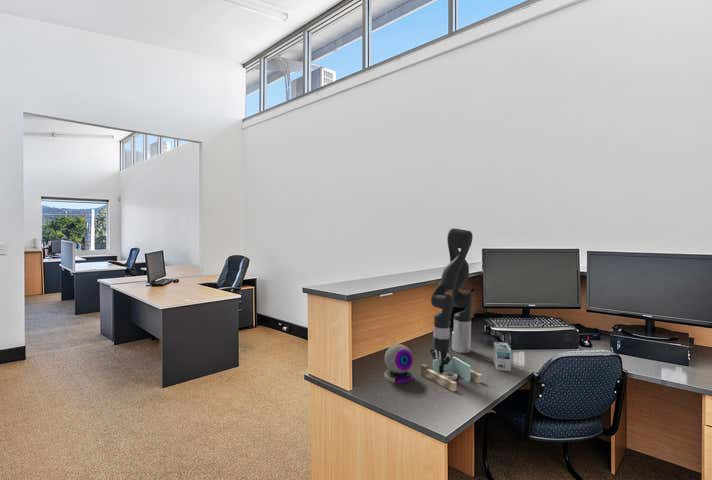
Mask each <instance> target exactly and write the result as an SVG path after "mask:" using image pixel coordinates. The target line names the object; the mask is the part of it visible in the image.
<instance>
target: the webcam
mask: <svg viewBox="0 0 712 480" xmlns="http://www.w3.org/2000/svg"><path fill="white" fill-rule="evenodd" d="M383 359H384V363H385V366H386V367H387V369H386V370H385V371H384V373H383V375H384V376H383V377H384V379H385V380H386V381H388V382H390V383H393V384H394V383H407V382H410V380H414V377H413V376H414V375H413V373H412V371H410V370H411V368H412V367H413V363H414V355H413V353H412V351H411V349H410V348H409V347H408V346H406V345H404V344H402V343H401V344H399V343H397V344H392V345H391V346H390V347H388V349H387V350H386V351H385V354H384V358H383Z"/></svg>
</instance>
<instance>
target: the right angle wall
mask: <svg viewBox="0 0 712 480" xmlns="http://www.w3.org/2000/svg"><path fill="white" fill-rule="evenodd" d="M439 361H440V360H439V359H435V360H434V359H433V360H432V370H433V371H435V372H437V373H439V374H441V375H443V376H445V377H447V378H449V379H451V380H453V381H456V380H457V379H458V376H459V377H461V378H462V379H464V380H465V381H467V382H471V379H470V377H471V370H472V365H469V364H468V363H466V362H465V361H462V360H461V359H459V358H458V357H456V356H452V359H451V361H450V362H449V363H448V364H447V365H444V371H443V372H442V373H440V372H439V367H440V365H439ZM442 362H443V361H442Z"/></svg>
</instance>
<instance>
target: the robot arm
mask: <svg viewBox="0 0 712 480" xmlns="http://www.w3.org/2000/svg"><path fill="white" fill-rule="evenodd" d="M446 241H447V248H448V253H449V263H448V264H447V265H446V266H445V268H444V269H443V271H442V275H441V277H440V278H441V279H440V281H439V283H438V285H437V286H436V288H435V290H434V291H433V293H432V295H431V298H430V300H431V301H430V303H431V305H432V306H433V307H434V308H437V309H441V310H442V311H441V312H438V313H435V314H434V316H433V317H434V319H433V334H432V335H433V336H432V345H433V348H431V349H429V352H430V354H431V356H432V358H433V360H435V359H439V360H440V361H439V365H440V367H439V372H440V373H442V372H443V371H444V365H447V364H448V363H449V362H450V361H451V359H452V357H453V356H452V355H450V353H449V347H450V344H451V350H453V351H454V352H456V353H459V354H467V353H470V352H471V340H472V338H471V337H472V336H471V335H472V308H473V307H472V306H473V293H472V292H471V291H469V290H460V288H461V287H462V286H463V285H464V284H465V283H466V281H468V279H469V277H470V267H469V263H468V262H467V261H468V260H467V259H466V258H467V255H468V253H469V250H470V248H471V246H472V242H473V232H472V231H471V230H467V229H466V230H465V229H461V228H451V229H449V231H448V233H447V240H446ZM459 249H460V250H459ZM448 291H451V294H447V292H448ZM453 308H463V309H464V310H462V311H459V312H456V313H453V331H452V332H451V330H450V325H451V324H450V323H451V322H450V321H451V320H450V318H451V316H452V312H453V310H454V309H453ZM450 337H451V339H450ZM450 340H451V342H450ZM442 361H443V362H442Z"/></svg>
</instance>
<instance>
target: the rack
mask: <svg viewBox="0 0 712 480" xmlns="http://www.w3.org/2000/svg"><path fill="white" fill-rule="evenodd" d="M420 376H423V377H424V378H427V379H429V380H431V381H432V382H434V383H436V384H438V385H440V386H442V387H444V388H446V389H447V390H450V391H451V392H456V391H457V383H458V382H457V381H456V380H451V379H449V378H447V377H445V376H443V375H442V374H439V373H437V372H435V371H433V369H430V368H429V365H427V364H426V363H424V364H420ZM470 381H473V382H475V383H478V384H481V383H482V382H483V374H482V373H480V372H478V371H475V370H473V369H471V377H470Z"/></svg>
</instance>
